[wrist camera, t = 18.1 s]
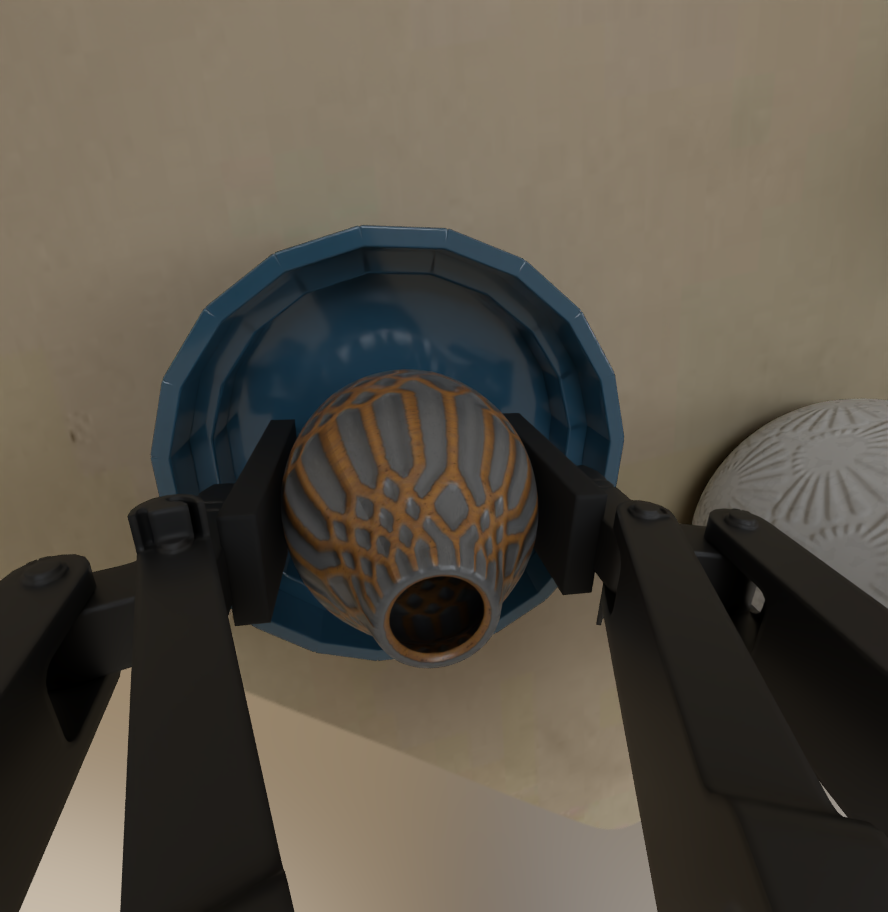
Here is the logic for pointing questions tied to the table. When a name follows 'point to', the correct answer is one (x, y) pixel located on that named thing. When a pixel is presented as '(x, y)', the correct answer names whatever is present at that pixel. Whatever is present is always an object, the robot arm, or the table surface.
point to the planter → (817, 486)
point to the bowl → (378, 350)
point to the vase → (411, 513)
